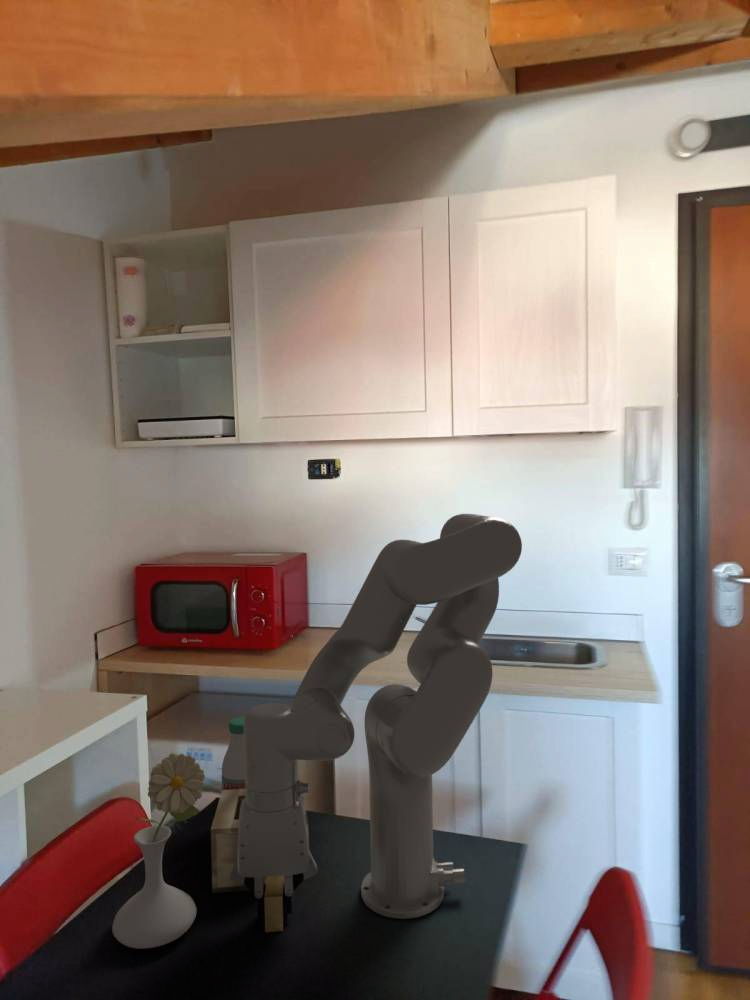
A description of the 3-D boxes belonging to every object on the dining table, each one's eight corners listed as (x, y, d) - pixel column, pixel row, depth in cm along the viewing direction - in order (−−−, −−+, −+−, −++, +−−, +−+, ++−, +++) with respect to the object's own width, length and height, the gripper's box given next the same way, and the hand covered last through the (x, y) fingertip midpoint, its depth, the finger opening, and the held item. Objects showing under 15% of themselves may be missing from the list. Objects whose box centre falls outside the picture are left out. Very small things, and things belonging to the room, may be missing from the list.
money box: (282, 843, 118) (280, 786, 118) (278, 888, 106) (276, 825, 105) (223, 846, 118) (222, 790, 117) (212, 892, 105) (210, 829, 104)
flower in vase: (108, 966, 89) (101, 779, 88) (116, 912, 100) (111, 745, 99) (210, 946, 93) (205, 766, 92) (207, 896, 104) (203, 735, 103)
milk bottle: (223, 820, 126) (220, 714, 126) (265, 816, 128) (263, 711, 127) (222, 843, 119) (218, 730, 118) (266, 837, 120) (264, 726, 119)
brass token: (284, 908, 101) (284, 875, 100) (283, 931, 96) (282, 896, 96) (267, 909, 100) (266, 876, 100) (265, 932, 95) (264, 897, 95)
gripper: (327, 778, 102) (330, 898, 103) (219, 784, 100) (222, 906, 101) (328, 802, 94) (331, 931, 95) (211, 809, 93) (215, 940, 94)
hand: (275, 917), depth 98 cm, fingers closed on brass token, 2 cm apart
